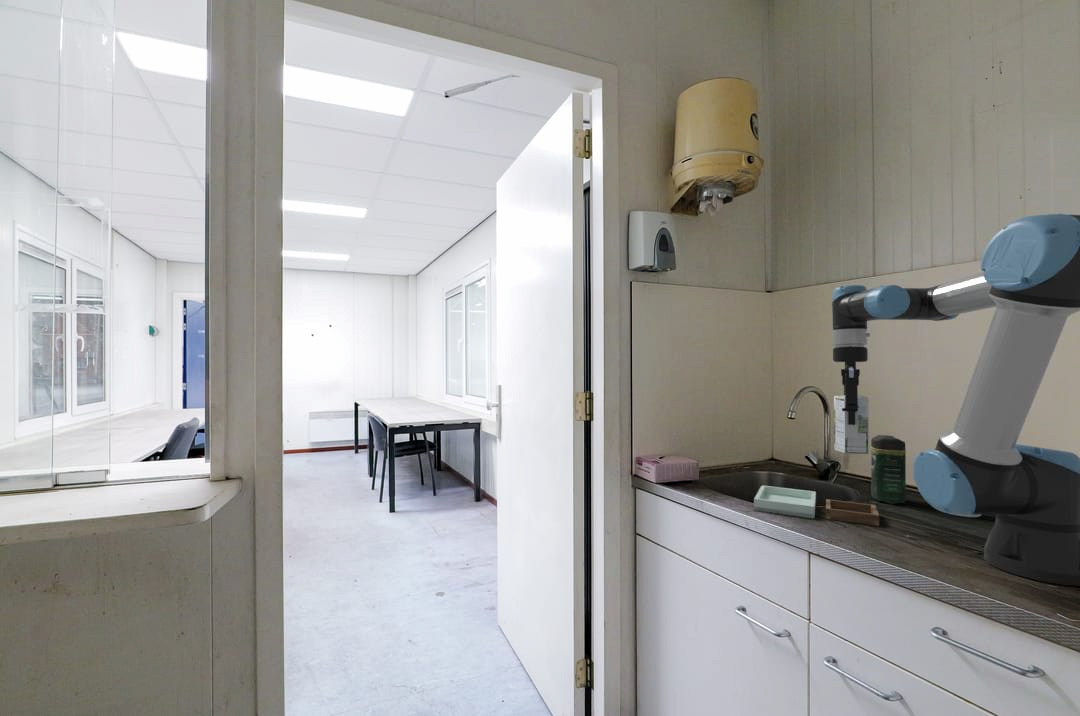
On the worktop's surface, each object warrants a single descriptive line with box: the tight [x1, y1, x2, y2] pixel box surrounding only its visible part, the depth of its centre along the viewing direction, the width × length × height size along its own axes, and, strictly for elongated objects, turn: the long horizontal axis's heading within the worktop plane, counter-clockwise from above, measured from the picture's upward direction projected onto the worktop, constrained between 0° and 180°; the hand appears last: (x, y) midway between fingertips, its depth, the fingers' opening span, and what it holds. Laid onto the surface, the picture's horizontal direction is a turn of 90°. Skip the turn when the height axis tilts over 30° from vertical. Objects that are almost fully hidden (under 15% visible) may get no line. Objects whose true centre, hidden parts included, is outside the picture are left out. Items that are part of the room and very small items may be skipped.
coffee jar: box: [870, 434, 907, 504], centre depth 142 cm, size 10×8×19 cm
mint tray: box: [753, 484, 817, 520], centre depth 134 cm, size 18×14×3 cm
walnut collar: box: [825, 498, 880, 527], centre depth 125 cm, size 11×11×2 cm
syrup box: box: [833, 394, 869, 455], centre depth 126 cm, size 6×6×14 cm
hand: (850, 436), depth 125 cm, fingers closed on syrup box, 7 cm apart
